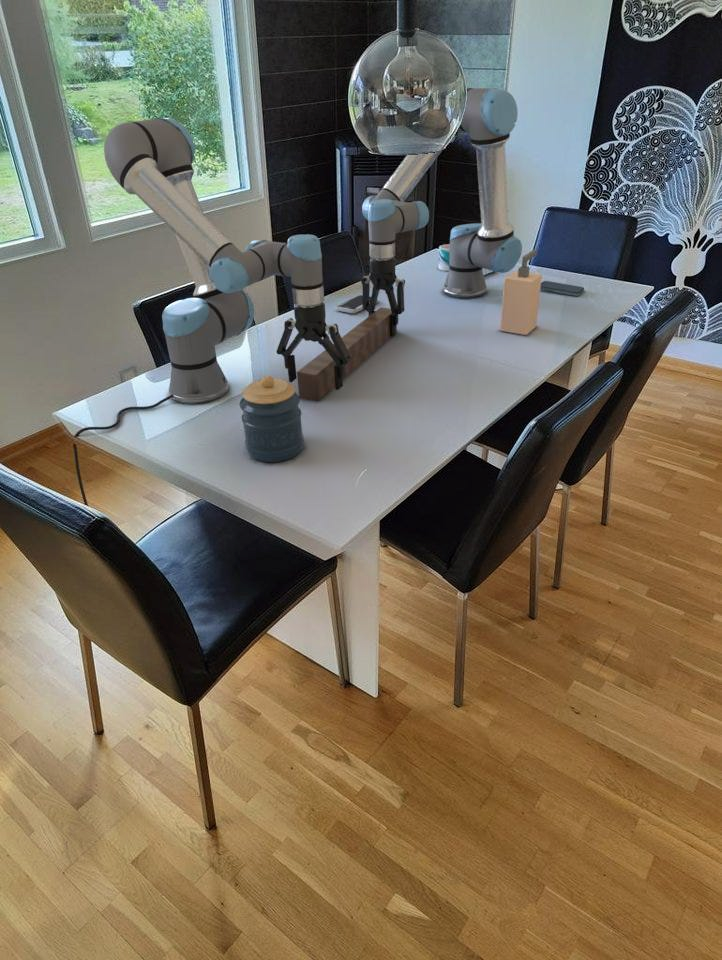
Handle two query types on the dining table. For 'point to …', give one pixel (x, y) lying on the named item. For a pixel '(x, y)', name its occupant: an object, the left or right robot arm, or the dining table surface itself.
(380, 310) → the post
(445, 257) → the mug
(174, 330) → the left robot arm
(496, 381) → the dining table surface
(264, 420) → the canister
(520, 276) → the soap dispenser
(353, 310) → the smartphone
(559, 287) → the smartphone
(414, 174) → the right robot arm
